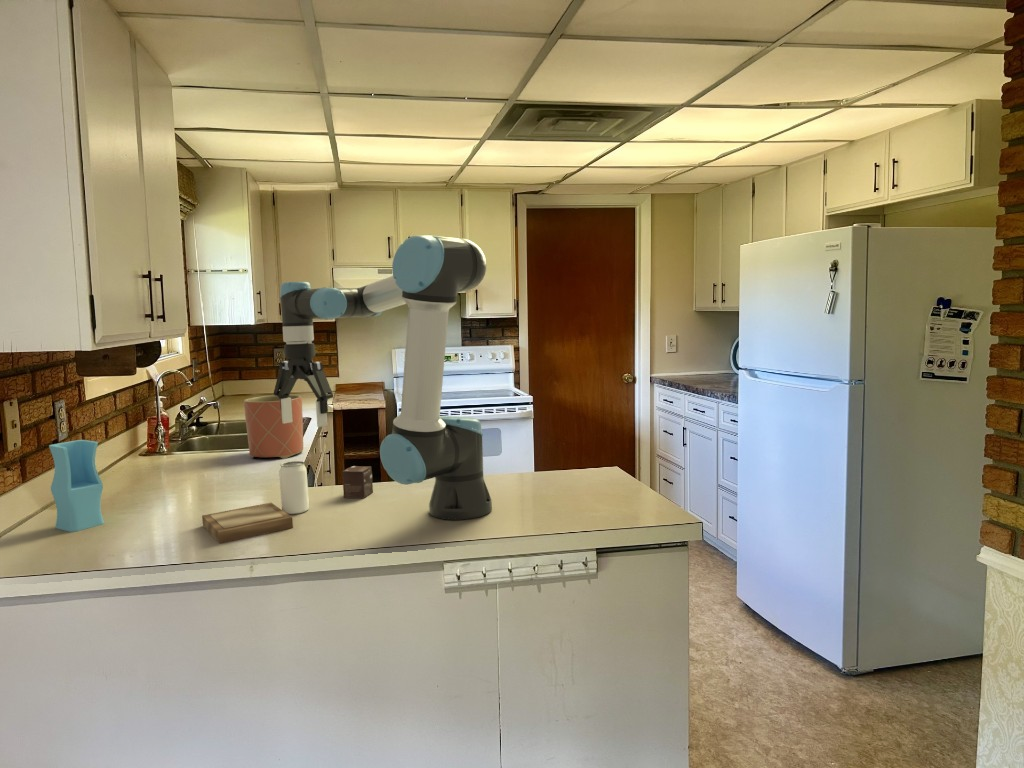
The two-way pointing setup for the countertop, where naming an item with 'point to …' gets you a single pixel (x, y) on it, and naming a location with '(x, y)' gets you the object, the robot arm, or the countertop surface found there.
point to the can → (294, 487)
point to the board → (246, 522)
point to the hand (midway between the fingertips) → (304, 424)
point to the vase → (76, 485)
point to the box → (357, 482)
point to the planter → (273, 427)
